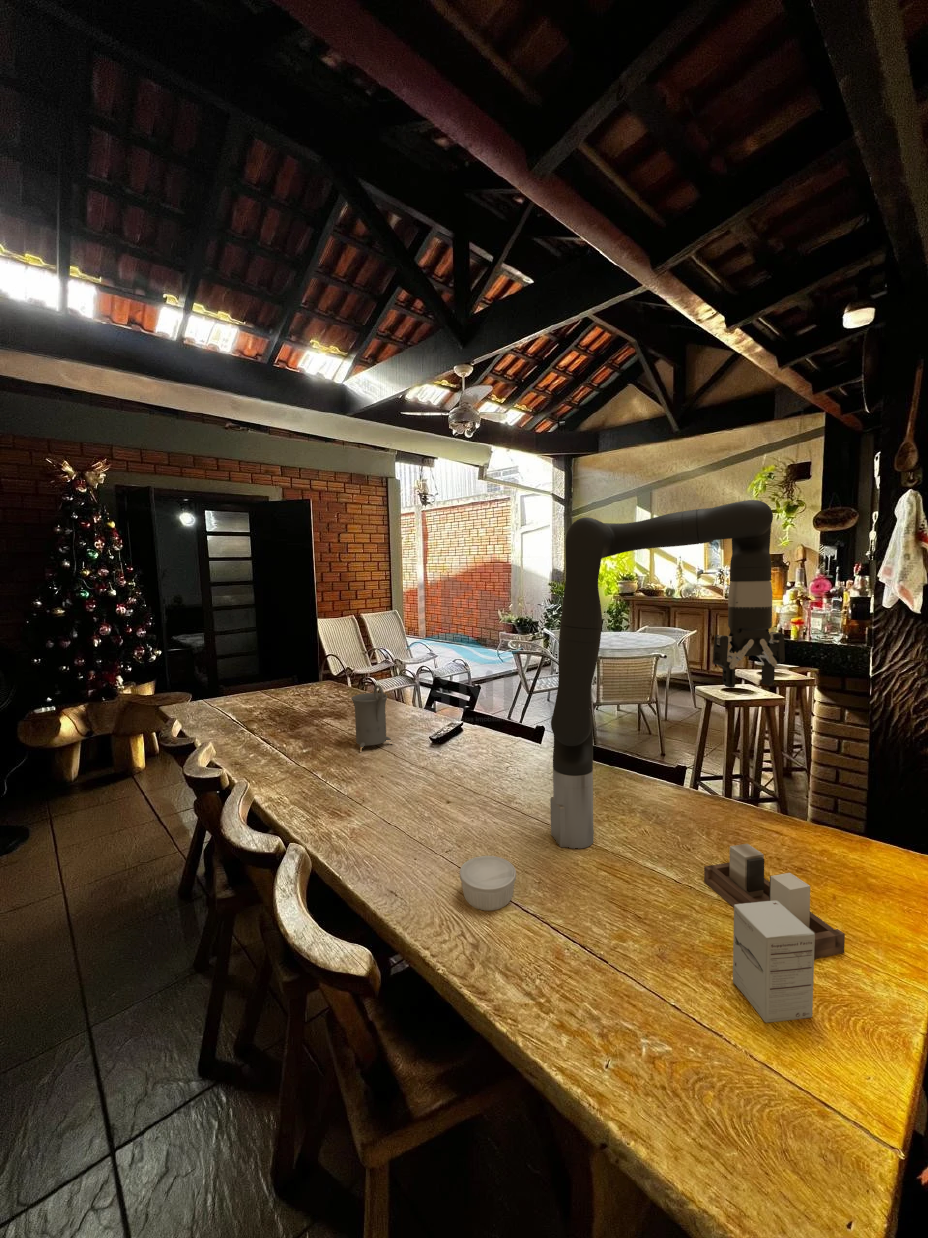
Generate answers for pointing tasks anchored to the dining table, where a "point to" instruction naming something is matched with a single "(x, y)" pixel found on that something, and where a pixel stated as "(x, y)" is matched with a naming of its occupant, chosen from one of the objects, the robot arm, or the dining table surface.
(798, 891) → the grey upright block
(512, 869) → the ramekin
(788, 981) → the supplement box
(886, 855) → the dining table surface
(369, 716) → the grey footed pot
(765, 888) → the rail
